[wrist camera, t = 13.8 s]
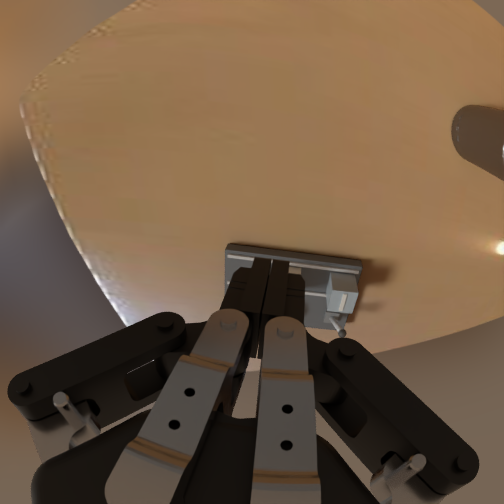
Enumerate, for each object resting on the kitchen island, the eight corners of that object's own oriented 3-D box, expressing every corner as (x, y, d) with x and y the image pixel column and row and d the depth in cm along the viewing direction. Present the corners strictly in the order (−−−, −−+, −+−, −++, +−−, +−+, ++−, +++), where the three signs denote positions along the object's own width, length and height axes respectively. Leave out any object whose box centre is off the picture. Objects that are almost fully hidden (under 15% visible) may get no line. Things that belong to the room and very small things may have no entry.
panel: (360, 260, 47) (367, 285, 41) (342, 323, 54) (344, 351, 48) (227, 243, 50) (216, 266, 44) (227, 308, 57) (218, 334, 51)
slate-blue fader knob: (354, 274, 46) (358, 293, 42) (349, 294, 48) (352, 314, 44) (330, 271, 47) (332, 290, 42) (325, 291, 49) (327, 311, 44)
